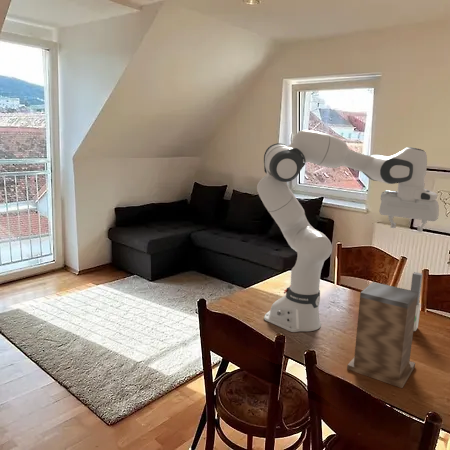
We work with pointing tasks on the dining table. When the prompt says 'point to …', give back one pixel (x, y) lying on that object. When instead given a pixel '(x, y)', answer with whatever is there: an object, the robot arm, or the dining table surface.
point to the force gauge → (417, 287)
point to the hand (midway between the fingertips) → (406, 229)
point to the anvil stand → (385, 334)
